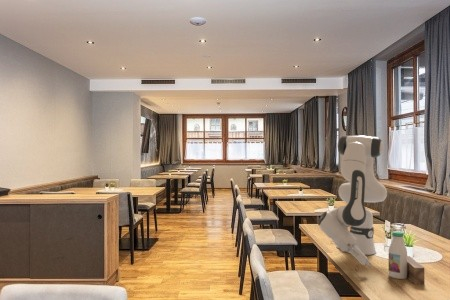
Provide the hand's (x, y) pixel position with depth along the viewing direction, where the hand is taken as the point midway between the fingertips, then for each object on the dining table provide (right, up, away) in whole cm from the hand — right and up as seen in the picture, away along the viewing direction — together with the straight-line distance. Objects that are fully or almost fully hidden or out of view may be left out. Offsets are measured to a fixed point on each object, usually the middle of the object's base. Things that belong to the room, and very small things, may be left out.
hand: (368, 264), depth 168 cm
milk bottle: (+12, -5, -2) cm, 14 cm away
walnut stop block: (+18, -5, -3) cm, 19 cm away
